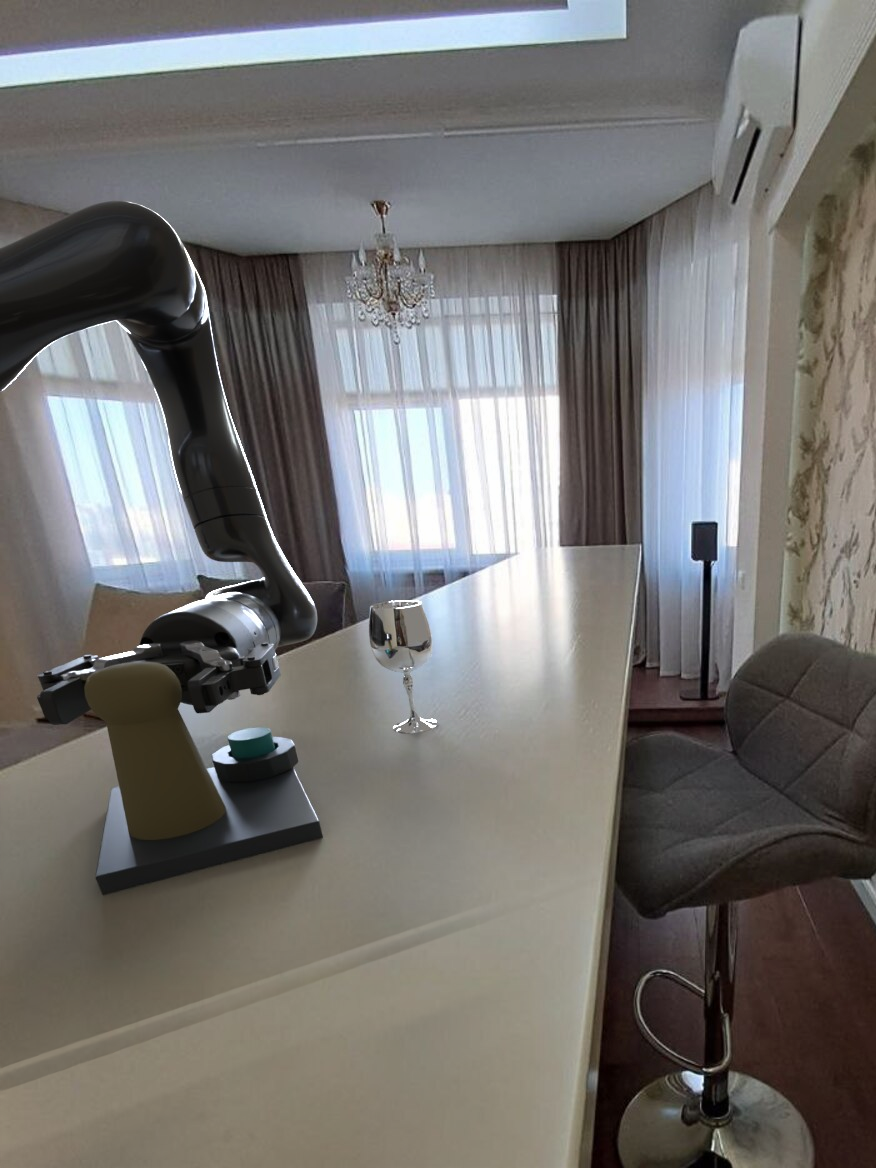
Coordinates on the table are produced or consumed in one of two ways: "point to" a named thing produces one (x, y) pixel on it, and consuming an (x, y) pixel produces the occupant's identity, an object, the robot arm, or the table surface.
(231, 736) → the button
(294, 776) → the scale
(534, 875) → the table surface
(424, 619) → the wineglass
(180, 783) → the cork
